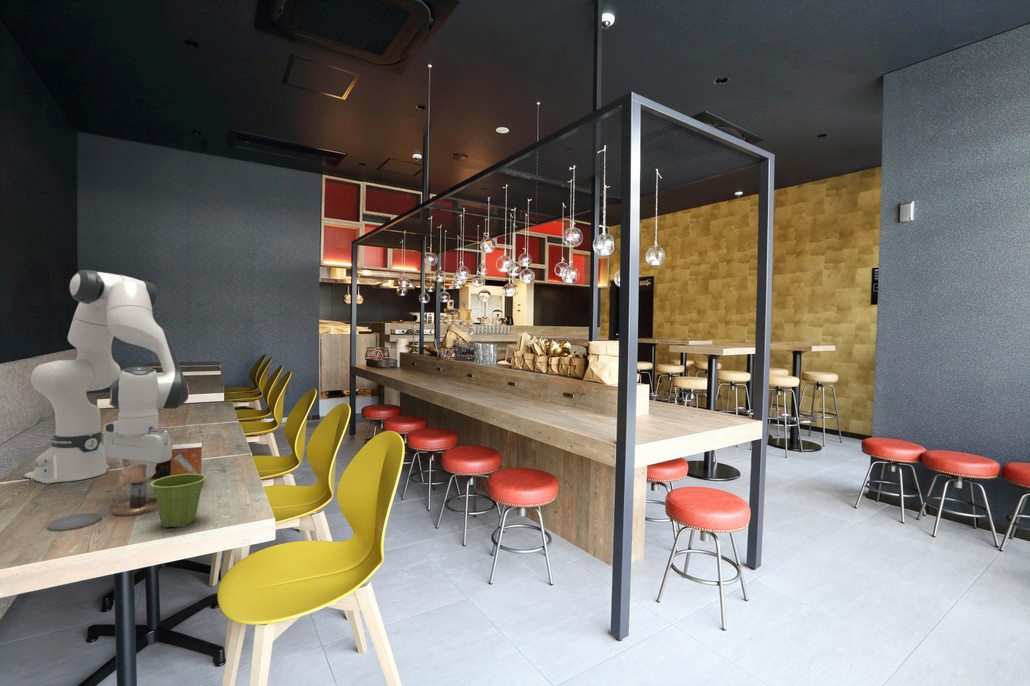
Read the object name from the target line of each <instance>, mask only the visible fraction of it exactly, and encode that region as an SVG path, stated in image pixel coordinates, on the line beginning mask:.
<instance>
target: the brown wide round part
mask: <svg viewBox="0 0 1030 686" xmlns="http://www.w3.org/2000/svg"><path fill="white" fill-rule="evenodd" d="M156 509H157V510H158V504H157V499H156V498H155V497H153V498H152V497H149V498H148V497H147V481H143V482H137V483H129V500H128V501H125V502H122V503H121V502H120V503H119V504H117V505H115V506H113V507H112V508H111V514H112V515H113V516H115V515H116V516H115V517H133V515H134V516H139V515H140V516H141V515H144V513H145V514H149V513H152V512H154V510H155V511H157V510H156ZM151 511H152V512H151ZM148 512H149V513H148Z"/></svg>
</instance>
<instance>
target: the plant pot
mask: <svg viewBox="0 0 1030 686" xmlns="http://www.w3.org/2000/svg"><path fill="white" fill-rule="evenodd" d="M206 479H207V475H205V474H202V473H201V474H180V475H173V476H167V477H163V478H160V479H154V480H153V481H152V482H150V487H152V488H153V493H154V495H155V497H156V499H157V504H158V509H157V510H158V515H159V519H160V524H161V527H163V528H166V527H167V528H171V527H173V528H180V527H179V526H181V527H183V526H188V525H190V524H192V522H194V521H196V517H197V511H198V507H199V502H200V499H201V498H200V496H201V492H202V489H203V486H204V483H205V480H206ZM187 524H188V525H187Z"/></svg>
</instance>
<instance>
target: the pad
mask: <svg viewBox="0 0 1030 686" xmlns="http://www.w3.org/2000/svg"><path fill="white" fill-rule="evenodd" d="M101 519H102V515H101V514H100V513H95V512H87V513H86V512H85V513H78V514H72V515H67V516H63V517H60V518H57V519H54V520H52V521H51V522H49V523H48V524H47V530H48V531H53V532H65V531H72V529H73V530H77V528H78V529H81V527H82V528H85V527H84V526H86V527H88V525H89V526H91V524H92V525H94V524H96V523H98V522H100V521H101ZM97 521H98V522H97ZM64 530H65V531H64Z"/></svg>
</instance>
